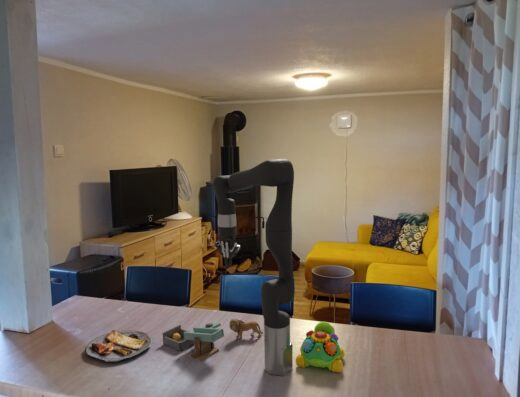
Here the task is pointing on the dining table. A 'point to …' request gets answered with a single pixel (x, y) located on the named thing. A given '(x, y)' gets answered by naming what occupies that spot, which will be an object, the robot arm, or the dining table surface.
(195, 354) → the fulcrum
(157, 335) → the dining table surface
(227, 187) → the robot arm
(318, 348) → the turtle toy
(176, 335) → the ball
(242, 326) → the lion figurine
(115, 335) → the food plate
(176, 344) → the tray
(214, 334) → the lever
